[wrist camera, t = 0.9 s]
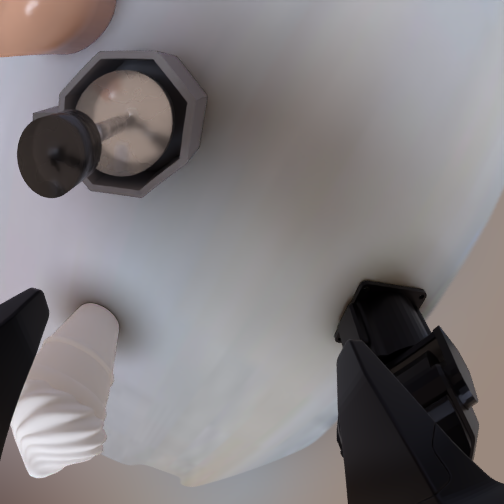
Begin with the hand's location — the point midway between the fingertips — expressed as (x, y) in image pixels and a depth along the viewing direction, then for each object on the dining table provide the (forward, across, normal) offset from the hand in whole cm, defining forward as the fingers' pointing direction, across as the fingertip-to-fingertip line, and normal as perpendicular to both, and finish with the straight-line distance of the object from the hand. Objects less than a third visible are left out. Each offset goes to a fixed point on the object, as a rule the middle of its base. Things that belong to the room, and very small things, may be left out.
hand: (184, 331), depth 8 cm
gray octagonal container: (+12, +7, -4) cm, 14 cm away
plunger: (+9, +6, -4) cm, 12 cm away
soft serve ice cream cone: (+13, +10, +14) cm, 22 cm away
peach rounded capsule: (+12, +11, -11) cm, 20 cm away
